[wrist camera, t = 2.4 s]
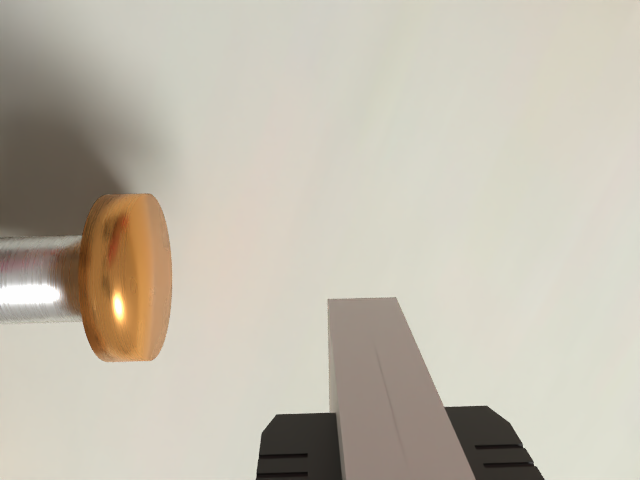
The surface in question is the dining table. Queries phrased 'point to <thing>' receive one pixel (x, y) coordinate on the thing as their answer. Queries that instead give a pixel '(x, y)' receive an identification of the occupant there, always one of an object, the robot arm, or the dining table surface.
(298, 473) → the robot arm
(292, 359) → the dining table surface
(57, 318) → the pin
